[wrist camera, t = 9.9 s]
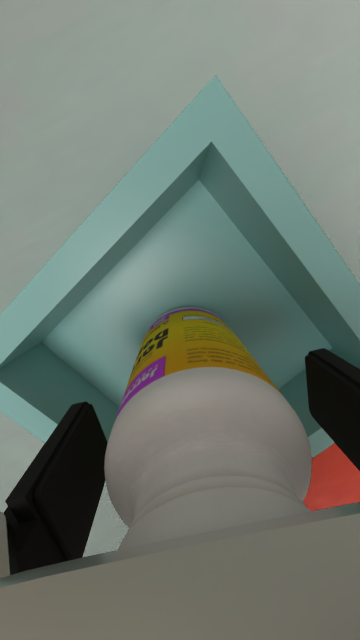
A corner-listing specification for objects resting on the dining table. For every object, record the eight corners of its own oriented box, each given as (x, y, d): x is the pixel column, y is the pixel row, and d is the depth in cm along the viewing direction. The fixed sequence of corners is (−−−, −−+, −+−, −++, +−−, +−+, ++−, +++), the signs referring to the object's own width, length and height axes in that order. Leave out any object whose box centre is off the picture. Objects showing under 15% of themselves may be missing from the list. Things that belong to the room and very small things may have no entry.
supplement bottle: (162, 289, 15) (118, 452, 2) (249, 325, 16) (525, 574, 3) (128, 372, 16) (0, 720, 4) (209, 400, 17) (300, 753, 5)
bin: (349, 343, 18) (426, 380, 12) (183, 469, 20) (187, 543, 15) (198, 145, 14) (215, 74, 8) (19, 336, 17) (-53, 374, 11)
